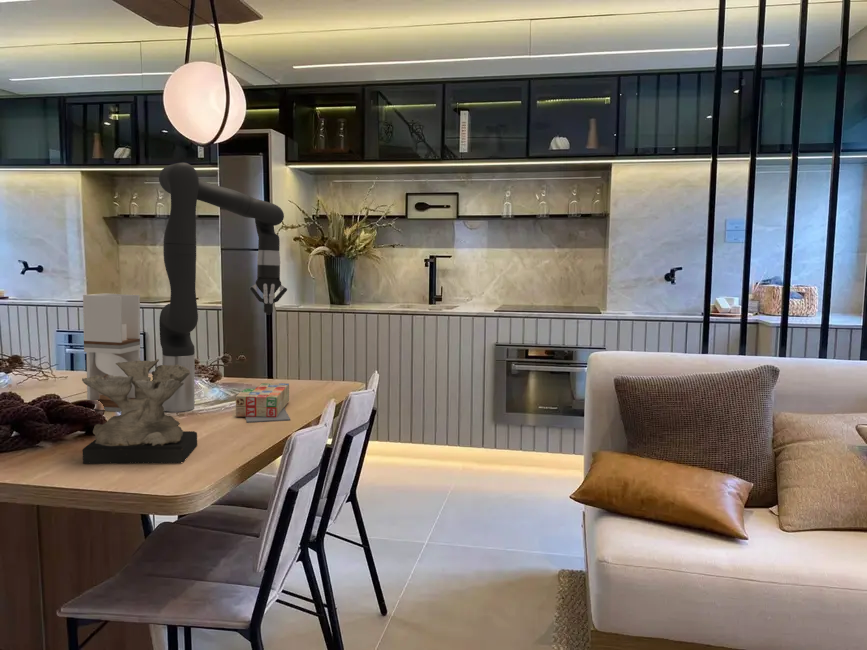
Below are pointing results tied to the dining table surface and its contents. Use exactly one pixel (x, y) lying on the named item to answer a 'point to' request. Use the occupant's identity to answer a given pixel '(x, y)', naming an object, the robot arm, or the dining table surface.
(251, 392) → the stack of blocks
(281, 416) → the mat
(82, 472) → the dining table surface
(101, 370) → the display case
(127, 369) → the coral
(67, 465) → the dining table surface
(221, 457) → the dining table surface
